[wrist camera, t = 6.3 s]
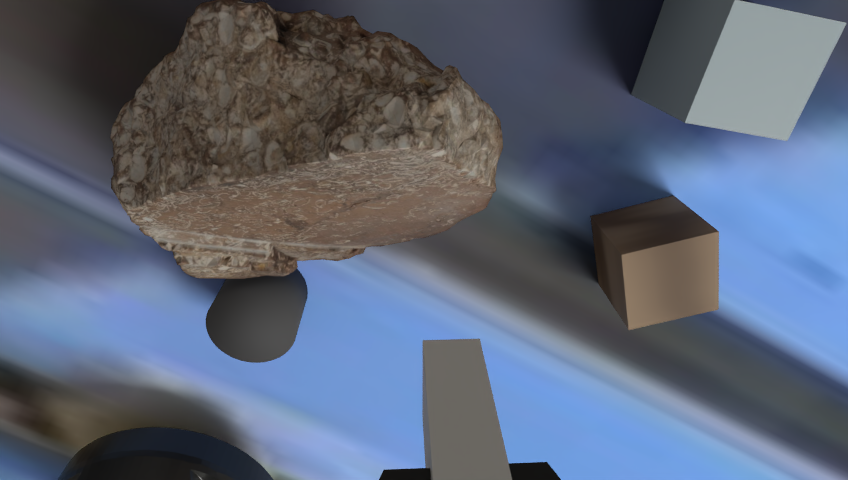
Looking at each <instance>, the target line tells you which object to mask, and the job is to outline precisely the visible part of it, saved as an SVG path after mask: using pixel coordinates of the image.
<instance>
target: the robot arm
mask: <svg viewBox="0 0 848 480" xmlns="http://www.w3.org/2000/svg"><path fill="white" fill-rule="evenodd" d="M423 431H424V448H425V464H426V468H418V469H392V470H384V471H383V473H382V475H381V477H380V479H379V480H561V479H560V478H559V477H558V475H557V474H556V473H555V472H554V470H553V469H552V468H551V467H550V465H549V464H548V463H547V462H537V463H512V464H508V459H507V455H506V451H505V446H504V442H503V438H502V433H501V429H500V425H499V420H498V416H497V412H496V407H495V403H494V399H493V394H492V390H491V386H490V382H489V377H488V373H487V369H486V364H485V360H484V356H483V351H482V347H481V343H480V339H456V340H423ZM58 480H273V479H272V477H271V476H270V475H269V473H268V472H267V471H266V470H265V469H264V468H263V467H262V466H261V465H260V464H259V463H258V462H257V461H256V460H254V459H253V458H252V457H250V456H249V455H248V454H246V453H245V452H243V451H241V450H240V449H238V448H236V447H234V446H232V445H230V444H228V443H226V442H224V441H222V440H219V439H217V438H214V437H211V436H208V435H205V434H201V433H197V432H193V431H188V430H182V429H175V428H161V427H149V428H136V429H129V430H124V431H119V432H115V433H112V434H109V435H106V436H104V437H101V438H99V439H97V440H95V441H93V442H91V443H90V444H88V445H87V446H85V447H84V448H82V449H81V450H80V451H79V452H78V453H77V454H76V455H75V456H74V457H73V458H72V459H71V461H70V462H69V464H68V465H67V466H66V468H65V469H64V471H63V472H62V474H61V475H60V477H59V478H58Z"/></svg>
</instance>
